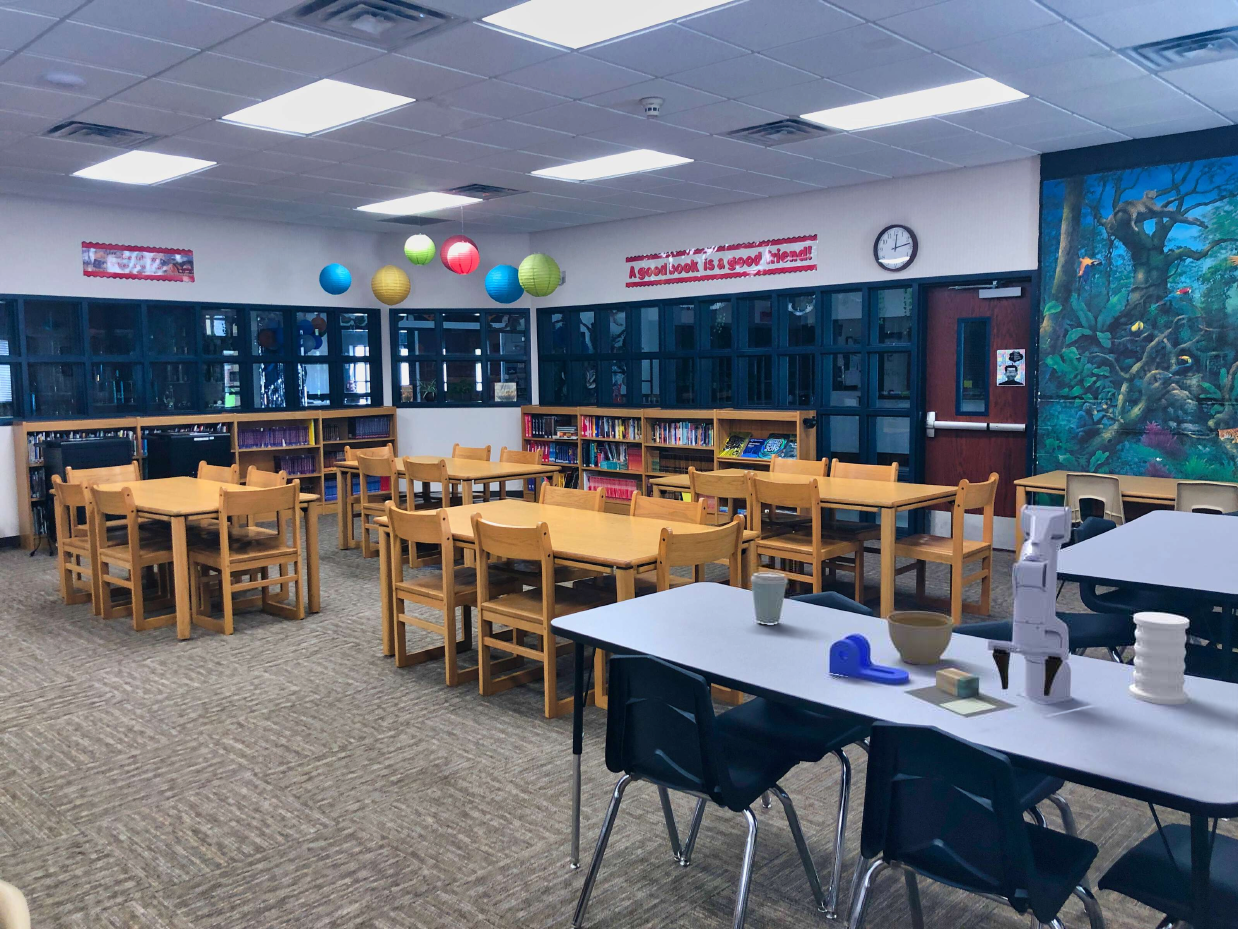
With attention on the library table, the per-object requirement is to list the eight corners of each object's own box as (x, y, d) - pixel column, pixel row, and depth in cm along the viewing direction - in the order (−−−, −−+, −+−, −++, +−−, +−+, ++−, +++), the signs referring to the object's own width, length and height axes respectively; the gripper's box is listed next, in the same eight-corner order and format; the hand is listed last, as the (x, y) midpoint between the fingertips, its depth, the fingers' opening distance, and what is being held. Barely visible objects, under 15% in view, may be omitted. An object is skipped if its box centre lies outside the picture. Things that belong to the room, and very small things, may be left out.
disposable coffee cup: (750, 618, 290) (750, 569, 289) (786, 619, 289) (787, 569, 287) (750, 627, 280) (750, 576, 278) (788, 628, 278) (788, 577, 277)
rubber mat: (951, 683, 227) (951, 681, 227) (1017, 708, 210) (1017, 705, 210) (903, 693, 220) (903, 691, 220) (966, 719, 203) (966, 717, 203)
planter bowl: (884, 650, 255) (885, 609, 254) (948, 653, 252) (949, 612, 251) (888, 668, 240) (889, 625, 239) (956, 671, 236) (957, 627, 235)
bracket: (829, 675, 235) (829, 638, 234) (844, 666, 241) (844, 631, 241) (900, 689, 224) (901, 651, 223) (914, 680, 230) (914, 643, 230)
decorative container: (1184, 692, 219) (1187, 614, 218) (1191, 707, 209) (1194, 626, 207) (1127, 685, 224) (1129, 609, 223) (1130, 701, 214) (1133, 621, 212)
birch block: (952, 685, 225) (952, 668, 224) (978, 694, 217) (979, 677, 217) (935, 688, 222) (936, 671, 222) (962, 698, 215) (962, 680, 215)
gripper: (985, 619, 190) (982, 688, 189) (1065, 628, 182) (1062, 700, 181) (993, 617, 196) (990, 684, 195) (1071, 625, 188) (1068, 696, 187)
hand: (1025, 692), depth 188 cm, fingers open, 7 cm apart
